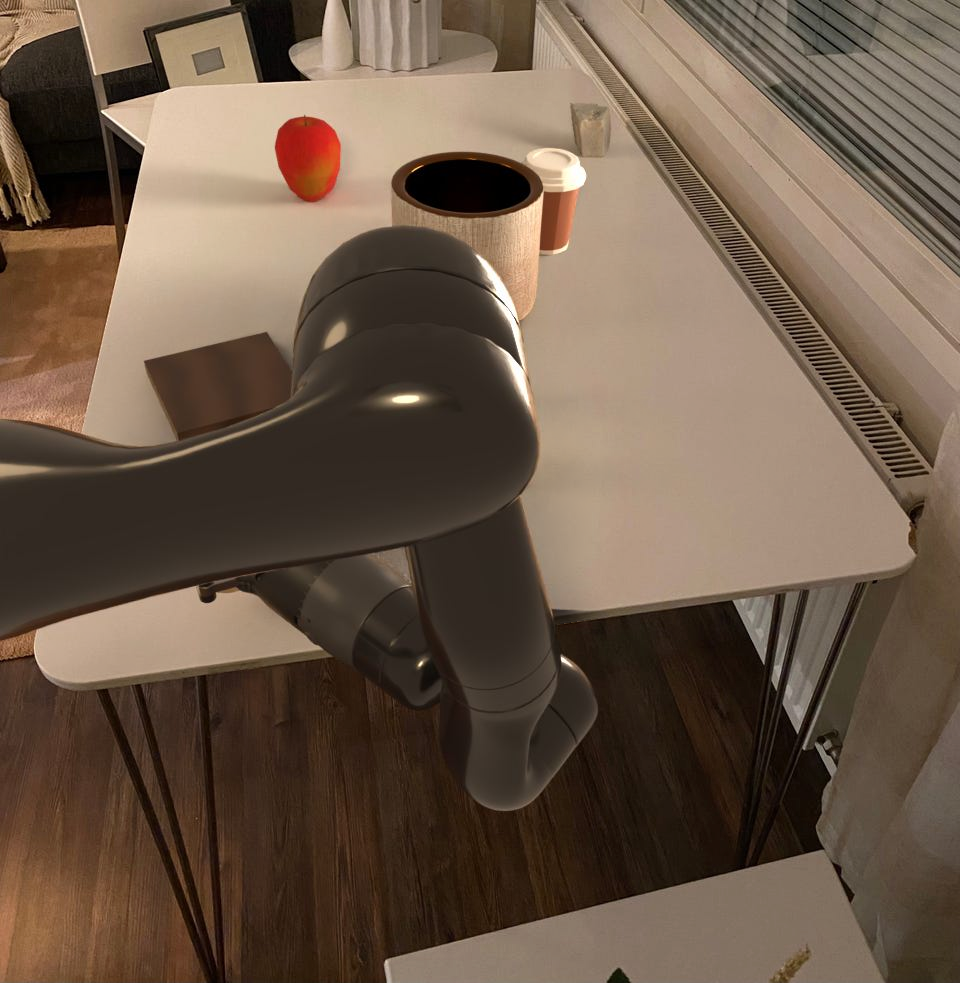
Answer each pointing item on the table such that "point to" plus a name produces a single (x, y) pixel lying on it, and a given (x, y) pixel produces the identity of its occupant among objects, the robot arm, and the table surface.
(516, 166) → the planter
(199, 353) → the board
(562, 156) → the coffee cup
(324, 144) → the apple
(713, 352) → the table surface
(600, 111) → the mineral specimen
